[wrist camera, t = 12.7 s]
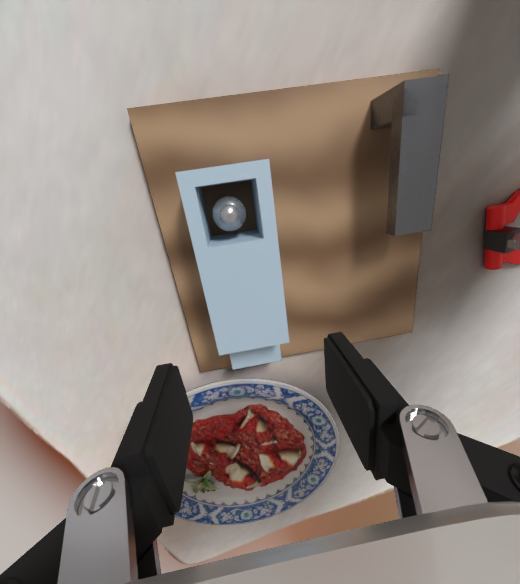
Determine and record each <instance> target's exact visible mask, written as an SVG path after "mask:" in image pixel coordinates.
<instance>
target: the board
mask: <svg viewBox="0 0 520 584" xmlns="http://www.w3.org/2000/svg"><path fill="white" fill-rule="evenodd" d="M434 76H439V69H434V70H426V71H418V72H410V73H402V74H394V75H387V76H379V77H371V78H363V79H355V80H347V81H339V82H332V83H324V84H316V85H308V86H300V87H292V88H284V89H277V90H269V91H261V92H253V93H245V94H237V95H229V96H222V97H214V98H206V99H198V100H190V101H182V102H174V103H167V104H159V105H151V106H143V107H135V108H127V110H128V114H129V118H130V121H131V125H132V128H133V132H134V135H135V139H136V143H137V146H138V150H139V153H140V157H141V160H142V164H143V168H144V171H145V175H146V178H147V182H148V185H149V189H150V193H151V196H152V200H153V203H154V207H155V210H156V214H157V218H158V221H159V225H160V228H161V232H162V235H163V239H164V243H165V246H166V250H167V253H168V257H169V260H170V264H171V268H172V271H173V275H174V278H175V282H176V285H177V289H178V293H179V296H180V300H181V303H182V307H183V310H184V314H185V318H186V321H187V325H188V328H189V332H190V335H191V339H192V343H193V346H194V350H195V353H196V357H197V360H198V364H199V367H200V371H201V372H204V371H209V370H215V369H220V368H225V367H230V366H232V364H231V359H230V355H229V354H225V355H220V356H219V353H218V349H217V345H216V341H215V336H214V332H213V328H212V324H211V320H210V316H209V311H208V307H207V303H206V299H205V295H204V291H203V286H202V282H201V278H200V274H199V270H198V266H197V261H196V257H195V253H194V249H193V245H192V240H191V236H190V232H189V228H188V224H187V220H186V215H185V211H184V207H183V203H182V199H181V195H180V190H179V186H178V182H177V178H176V174H175V172H181V171H188V170H194V169H201V168H208V167H215V166H222V165H229V164H236V163H243V162H250V161H257V160H264V159H269V162H270V171H271V180H272V189H273V198H274V207H275V216H276V225H277V234H278V243H279V252H280V261H281V270H282V279H283V288H284V297H285V306H286V315H287V324H288V334H289V343H284V344H280V351H281V357H283V356H289V355H294V354H299V353H305V352H310V351H315V350H320V349H324V338H327V336H328V334H330V333H336V332H342V333H343V334H344V335H345V336H346V338H347V339H348V340H349V341H350V343H351V344H352V343H357V342H363V341H368V340H373V339H379V338H384V337H389V336H395V335H400V334H405V333H410V332H412V327H413V318H414V308H415V298H416V289H417V279H418V269H419V260H420V250H421V240H422V232H417V233H411V234H405V235H399V236H393V235H389V234H386V228H387V208H388V189H389V169H390V149H391V129H392V127H389V128H381V129H374V130H370V123H371V101H372V100H373V99H375V98H376V97H378V96H380V95H381V94H383V93H385V92H386V91H388V90H390V89H391V88H393V87H394V86H396V85H398V84H399V83H401V82H403V81H404V80H410V79H418V78H426V77H434ZM202 191H203V196H204V201H205V205H206V210H207V215H208V220H209V225H210V230H211V234H212V236H214V235H221V234H227V233H233V232H240V231H246V230H252V229H257V228H256V221H255V214H254V207H253V200H252V193H251V186H250V180H248V181H241V182H235V183H228V184H221V185H214V186H208V187H202ZM226 195H231V196H234V197H236V198H237V199H238V200H240V201H241V202H242V204H243V205H244V207H245V210H246V219H245V221H244V223H243V225H242V226H241V227H240V228H239V229H237V230H234V231H226V230H223V229H221V228H220V227H218V226H217V225H216V223H215V221H214V219H213V207H214V205H215V203H216V202H217V201H218V200H219V199H220V198H221V197H223V196H226Z"/></svg>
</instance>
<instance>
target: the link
mask: <svg viewBox="0 0 520 584" xmlns="http://www.w3.org/2000/svg"><path fill="white" fill-rule="evenodd" d="M175 174H176V178H177V182H178V186H179V190H180V195H181V199H182V203H183V207H184V211H185V215H186V220H187V224H188V228H189V232H190V236H191V240H192V245H193V249H194V253H195V257H196V261H197V266H198V270H199V274H200V278H201V282H202V286H203V291H204V295H205V299H206V303H207V307H208V311H209V316H210V320H211V324H212V328H213V332H214V336H215V341H216V345H217V349H218V353H219V356H220V355H225V354H229V355H230V359H231V364H232V368H233V370H234V369H239V368H244V367H249V366H255V365H260V364H265V363H270V362H276V361H281V360H282V359H281V351H280V344H284V343H289V334H288V324H287V315H286V306H285V297H284V288H283V279H282V270H281V261H280V252H279V243H278V234H277V225H276V216H275V207H274V198H273V189H272V180H271V171H270V162H269V159H264V160H257V161H250V162H243V163H236V164H229V165H222V166H215V167H208V168H201V169H194V170H188V171H181V172H175ZM248 180H250V186H251V193H252V200H253V207H254V214H255V221H256V228H257V229H252V230H246V231H240V232H233V233H227V234H221V235H214V236H212V234H211V230H210V225H209V220H208V215H207V210H206V205H205V201H204V196H203V191H202V187H208V186H214V185H221V184H228V183H235V182H241V181H248Z"/></svg>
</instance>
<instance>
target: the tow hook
mask: <svg viewBox="0 0 520 584" xmlns="http://www.w3.org/2000/svg"><path fill="white" fill-rule="evenodd" d="M519 212H520V189H519V190H518V191H517V192H515V193H514V194H513V195H512V196H511V198H510V199H509V200H508V201H507V202H506V203H504V204H496V205H491V206H488V207H487V210H486V229H485V230H484V248H485V266H484V267H485V268H486V269H490V270H495V269H500V268H501V267H502V263H505V262H508V263H513V264H520V228H516V227H508V226H504V225H507V224H509V223H512V222H513V221H514V220H515V219H516V217H517V215H518V214H519Z"/></svg>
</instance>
